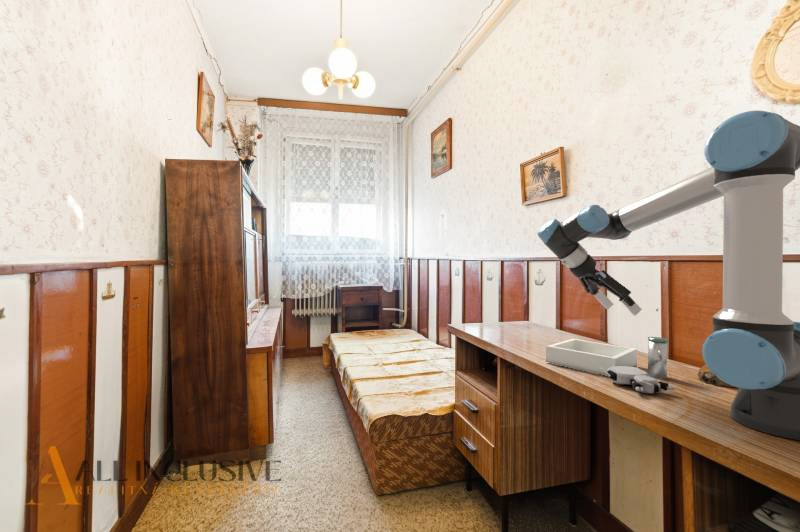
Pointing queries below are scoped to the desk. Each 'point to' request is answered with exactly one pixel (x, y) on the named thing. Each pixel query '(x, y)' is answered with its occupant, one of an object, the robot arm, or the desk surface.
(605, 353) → the bin
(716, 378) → the bread roll
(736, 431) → the desk surface
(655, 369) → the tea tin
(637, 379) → the robot toy
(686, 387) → the desk surface
